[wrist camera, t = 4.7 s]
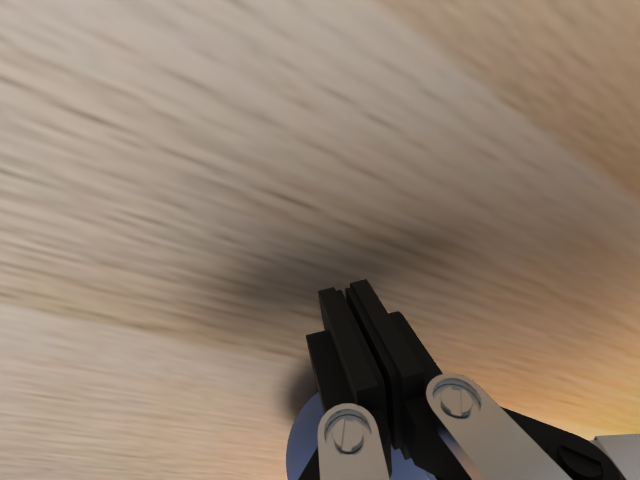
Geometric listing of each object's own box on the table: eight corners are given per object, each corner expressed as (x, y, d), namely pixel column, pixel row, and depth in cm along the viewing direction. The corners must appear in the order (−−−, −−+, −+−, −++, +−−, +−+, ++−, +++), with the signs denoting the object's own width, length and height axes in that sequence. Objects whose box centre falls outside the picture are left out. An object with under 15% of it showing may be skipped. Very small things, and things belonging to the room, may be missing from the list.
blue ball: (458, 569, 11) (396, 442, 16) (459, 438, 10) (391, 345, 15) (302, 615, 10) (289, 466, 16) (282, 479, 9) (275, 367, 14)
